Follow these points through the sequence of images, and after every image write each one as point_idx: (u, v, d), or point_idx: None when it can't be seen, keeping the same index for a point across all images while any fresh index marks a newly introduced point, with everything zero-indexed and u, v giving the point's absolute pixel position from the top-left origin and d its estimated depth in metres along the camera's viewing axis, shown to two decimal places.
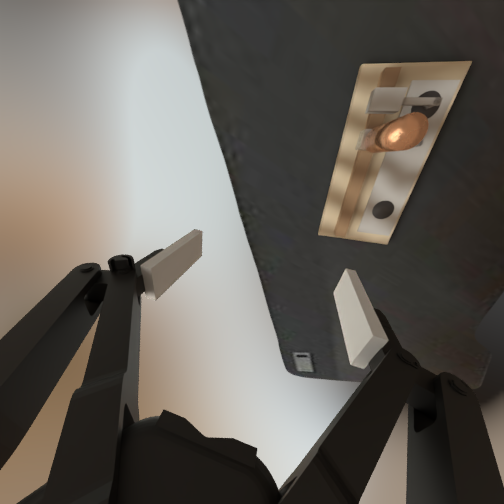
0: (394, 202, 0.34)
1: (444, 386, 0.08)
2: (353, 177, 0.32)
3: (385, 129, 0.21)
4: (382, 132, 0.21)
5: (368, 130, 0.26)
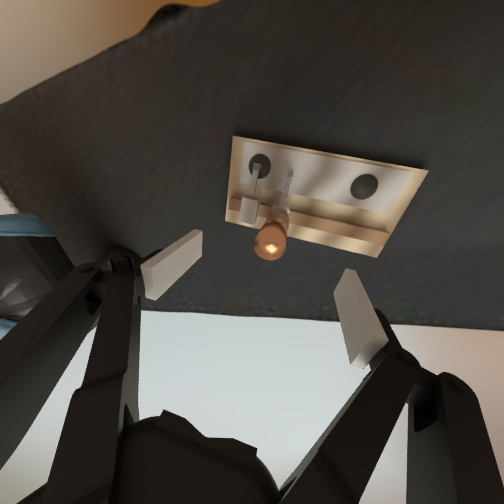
0: (356, 174, 0.26)
1: (444, 386, 0.08)
2: (311, 227, 0.30)
3: None
4: None
5: None
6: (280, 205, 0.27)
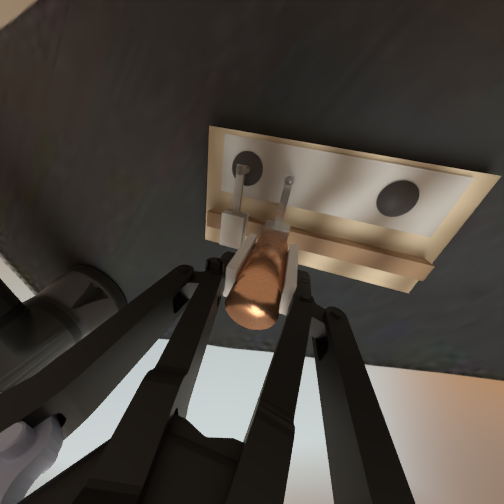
0: (387, 181, 0.18)
1: (329, 318, 0.10)
2: (319, 253, 0.21)
3: None
4: None
5: None
6: (275, 224, 0.19)
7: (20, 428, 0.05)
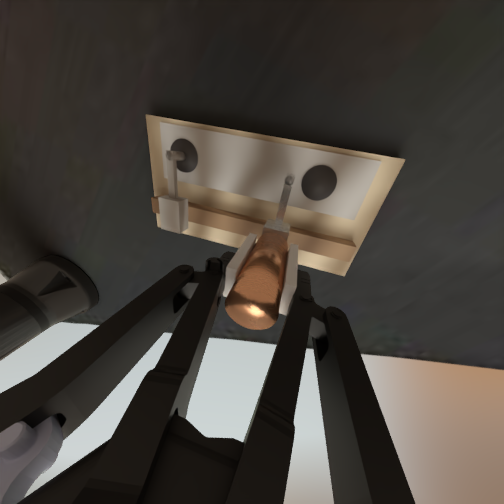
0: (307, 166, 0.19)
1: (329, 318, 0.10)
2: None
3: None
4: None
5: None
6: (275, 224, 0.19)
7: (20, 428, 0.05)
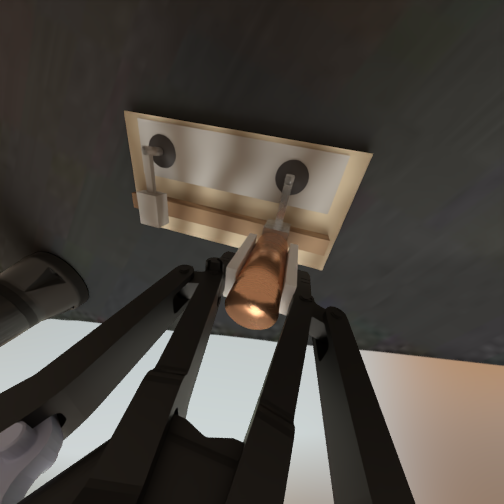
0: (280, 161, 0.19)
1: (329, 318, 0.10)
2: (233, 231, 0.23)
3: None
4: None
5: None
6: (275, 224, 0.19)
7: (20, 428, 0.05)
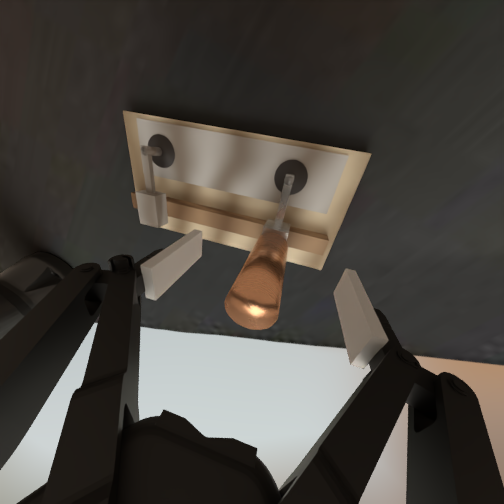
0: (279, 161, 0.19)
1: (444, 386, 0.08)
2: (232, 231, 0.23)
3: None
4: None
5: None
6: (275, 224, 0.19)
7: None
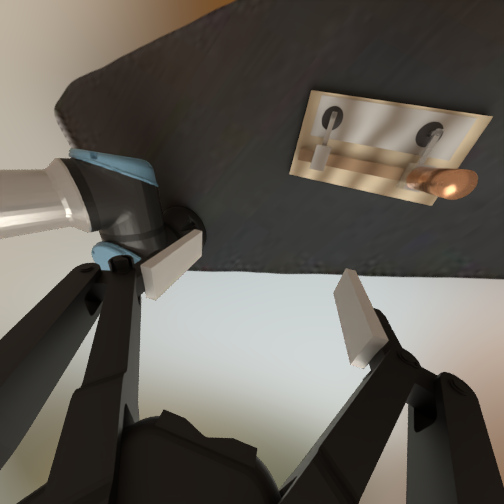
0: (423, 123, 0.30)
1: (444, 386, 0.08)
2: (375, 174, 0.33)
3: (435, 195, 0.24)
4: None
5: (405, 186, 0.30)
6: (420, 164, 0.29)
7: None
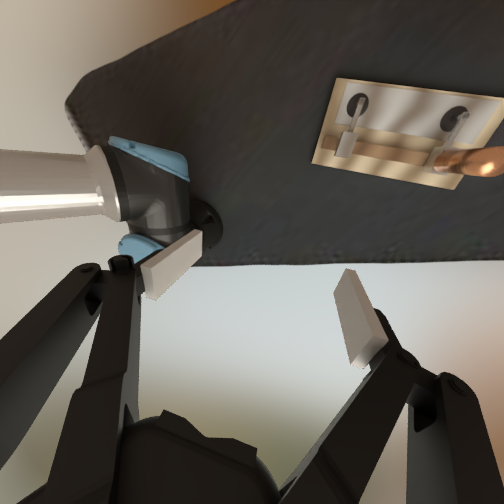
0: (448, 107, 0.30)
1: (444, 386, 0.08)
2: (399, 160, 0.34)
3: (470, 174, 0.25)
4: (469, 174, 0.25)
5: (433, 170, 0.31)
6: None
7: None
